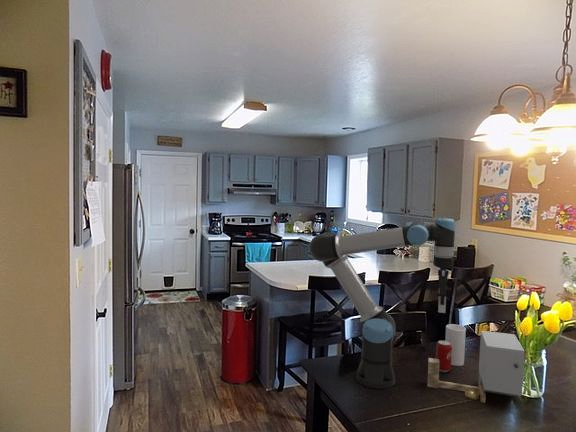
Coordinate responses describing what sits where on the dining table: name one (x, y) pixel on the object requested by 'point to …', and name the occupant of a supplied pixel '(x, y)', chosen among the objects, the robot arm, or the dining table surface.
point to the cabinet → (501, 363)
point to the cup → (456, 343)
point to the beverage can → (444, 355)
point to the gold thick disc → (472, 393)
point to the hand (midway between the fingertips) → (441, 308)
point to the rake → (435, 383)
